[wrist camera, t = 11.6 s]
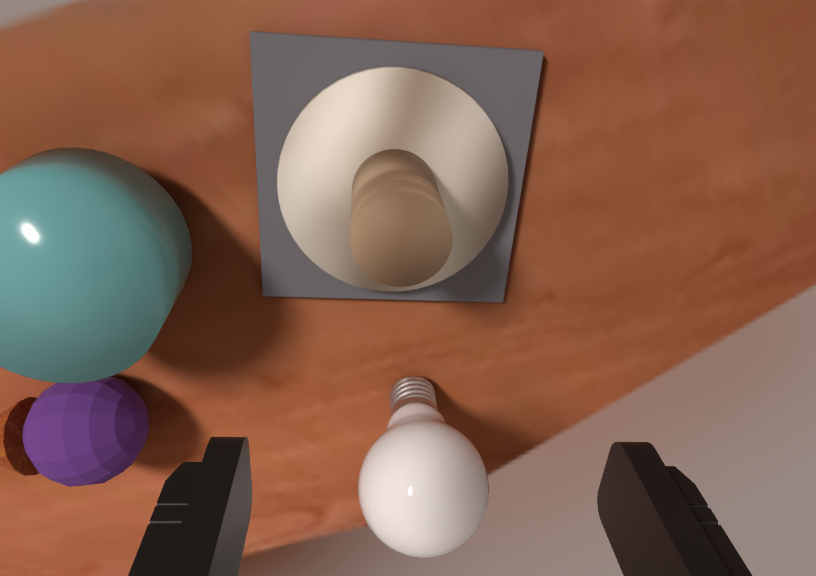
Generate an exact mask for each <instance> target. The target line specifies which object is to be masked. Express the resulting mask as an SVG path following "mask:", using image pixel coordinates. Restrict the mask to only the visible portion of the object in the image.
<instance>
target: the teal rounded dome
mask: <svg viewBox="0 0 816 576" xmlns="http://www.w3.org/2000/svg"><path fill="white" fill-rule="evenodd" d="M191 263H192V242H191V237H190V232H189V229H188V226H187V223H186V221H185V219H184V217H183V215H182V213H181V211H180V209H179V208H178V206H177V204H176V203H175V201H174V200H173V199H172V197H171V196H170V195H169V194H168V193H167V191H166V190H165V189H164V188H163V187H162V186H161V185H160V184H159V183H158V182H157V181H156V180H155V179H153V178H152V177H151V176H149V175H148V174H147V173H146V172H144V171H143V170H141V169H140V168H138V167H136V166H135V165H133V164H131V163H129V162H127V161H125V160H123V159H121V158H119V157H116V156H113V155H110V154H108V153H105V152H100V151H96V150H92V149H84V148H58V149H51V150H47V151H43V152H40V153H36V154H34V155H32V156H30V157H28V158H26V159H24V160H22V161H20V162H19V163H17V164H15V165H14V166H12V167H10V168H9V169H7V170H5V171H4V172H2V173H0V367H2V368H4V369H7V370H9V371H11V372H14V373H17V374H20V375H22V376H25V377H29V378H33V379H37V380H42V381H49V382H57V383H83V382H90V381H96V380H100V379H104V378H107V377H110V376H113V375H115V374H118V373H120V372H122V371H123V370H125V369H127V368H129V367H130V366H132V365H133V364H134V363H136V362H137V361H138V360H139V359H140V358H141V357H142V356H143V355H144V354H145V353H146V352H147V351H148V349H149V348H150V347H151V345H152V344H153V342H154V340H155V339H156V337H157V335H158V333H159V331H160V329H161V327H162V326H163V324H164V322H165V320H166V318H167V316H168V315H169V313H170V311H171V309H172V307H173V305H174V303H175V302H176V300H177V298H178V296H179V294H180V292H181V291H182V289H183V287H184V285H185V283H186V281H187V278H188V276H189V272H190V269H191Z"/></svg>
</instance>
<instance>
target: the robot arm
mask: <svg viewBox="0 0 816 576" xmlns="http://www.w3.org/2000/svg"><path fill="white" fill-rule="evenodd" d="M597 503H598V512H599V516H600V519H601V522H602V525H603V527H604V529H605V532H606V534H607V537H608V539H609V541H610V544H611V546H612V548H613V551H614V553H615V556H616V558H617V561H618V563H619V565H620V568H621V570H622V573H623V575H624V576H752V575H751V573H750V571H749V570H748V568H747V567H746V565H745V563H744V562H743V560H742V559H741V557H740V555H739V554H738V552H737V551H736V549H735V547H734V546H733V544H732V543H731V541H730V539H729V538H728V536H727V535H726V533H725V531H724V530H723V528H722V527H721V525H718V520H717V519H716V517H715V515H714V514H713V512H712V511H711V509H710V508H708V507H707V505H708V504H707V503H706V501H705V500H704V498H703V497H702V495H701V493H700V491H699V490H698V488H697V487H696V485H695V484H694V483H693V482H692V481H691V480H690V479H689V478H687V477H686V476H685V475H684V474H683V473H682V472H681V471H679V470H678V469H677V468H676V467H674V466H665V465H664V463H663V461H662V460H661V458H660V456H659V455H658V453H657V451H656V449H655V448H654V446H653V445H652V444H650V443H648V442H615V443H613V444H612V446H611V449H610V452H609V455H608V459H607V462H606V466H605V469H604V473H603V476H602V479H601V483H600V486H599V490H598V497H597ZM251 506H252V481H251V468H250V455H249V443H248V438H247V437H211V438H210V440H209V443H208V445H207V448H206V451H205V454H204V457H203V460H202V462H183V463H182V464H181V465H180V466H179V467H178V468H177V469H176V470H175V471H174V472H173V473H172V474H171V475H170V476H169V478H168V479H167V480H166V481H165V483H164V486H163V488H162V491H161V494H160V496H159V499H158V501H157V507H155V509H154V511H153V514H152V516H151V519H150V524H149V525H148V527H147V529H146V532H145V534H144V537H143V539H142V542H141V544H140V547H139V550H138V552H137V555H136V557H135V560H134V562H133V565H132V567H131V570H130V572H129V575H128V576H238V571H239V567H240V562H241V558H242V553H243V548H244V544H245V539H246V534H247V530H248V525H249V520H250V515H251Z"/></svg>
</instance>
